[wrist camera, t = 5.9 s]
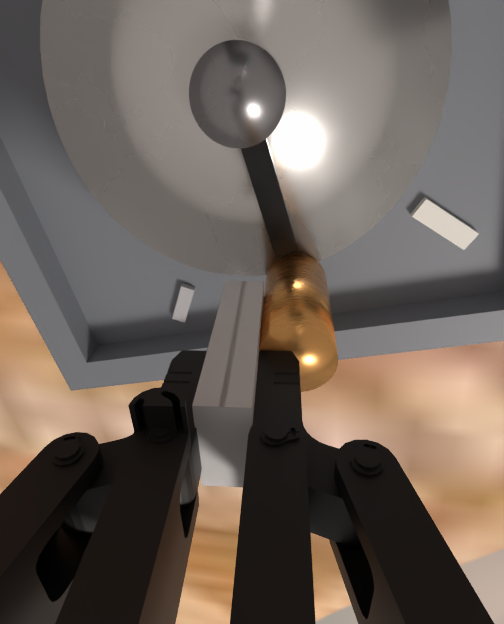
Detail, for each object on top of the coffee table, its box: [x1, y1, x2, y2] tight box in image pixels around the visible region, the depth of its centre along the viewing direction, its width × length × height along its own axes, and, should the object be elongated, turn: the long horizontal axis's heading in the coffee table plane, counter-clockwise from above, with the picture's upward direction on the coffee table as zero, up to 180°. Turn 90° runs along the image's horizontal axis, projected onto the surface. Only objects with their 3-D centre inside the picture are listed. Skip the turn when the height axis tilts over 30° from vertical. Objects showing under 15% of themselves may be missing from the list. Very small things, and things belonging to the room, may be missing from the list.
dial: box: [40, 0, 452, 392], centre depth 12 cm, size 14×13×6 cm
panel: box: [0, 0, 504, 390], centre depth 15 cm, size 22×22×3 cm
